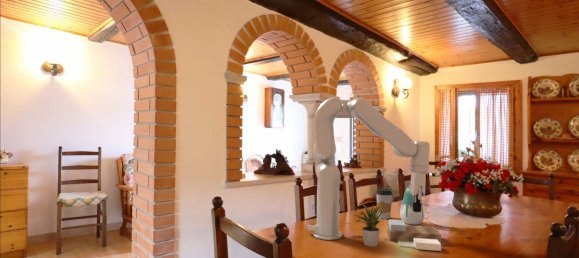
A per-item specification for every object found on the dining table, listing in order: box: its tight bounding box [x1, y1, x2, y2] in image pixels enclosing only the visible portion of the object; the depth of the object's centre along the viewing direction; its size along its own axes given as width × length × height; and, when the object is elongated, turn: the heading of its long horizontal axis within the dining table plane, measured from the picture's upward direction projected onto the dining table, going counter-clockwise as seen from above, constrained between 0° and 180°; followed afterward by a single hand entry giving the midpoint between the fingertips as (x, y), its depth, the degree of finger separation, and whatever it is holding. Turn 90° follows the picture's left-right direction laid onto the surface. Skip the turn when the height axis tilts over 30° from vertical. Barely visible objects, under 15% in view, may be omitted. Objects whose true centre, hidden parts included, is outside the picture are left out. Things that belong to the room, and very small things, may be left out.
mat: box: [396, 241, 416, 249], centre depth 138 cm, size 12×7×1 cm, turn 79°
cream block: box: [413, 238, 442, 252], centre depth 134 cm, size 9×6×2 cm, turn 79°
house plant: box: [352, 204, 384, 247], centre depth 140 cm, size 14×14×16 cm
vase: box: [399, 186, 425, 226], centre depth 173 cm, size 12×12×18 cm
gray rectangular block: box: [388, 219, 407, 231], centre depth 149 cm, size 9×6×2 cm, turn 169°
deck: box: [386, 223, 442, 245], centre depth 147 cm, size 20×12×4 cm, turn 79°
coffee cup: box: [375, 188, 393, 220], centre depth 183 cm, size 8×8×15 cm
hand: (416, 211), depth 150 cm, fingers closed
